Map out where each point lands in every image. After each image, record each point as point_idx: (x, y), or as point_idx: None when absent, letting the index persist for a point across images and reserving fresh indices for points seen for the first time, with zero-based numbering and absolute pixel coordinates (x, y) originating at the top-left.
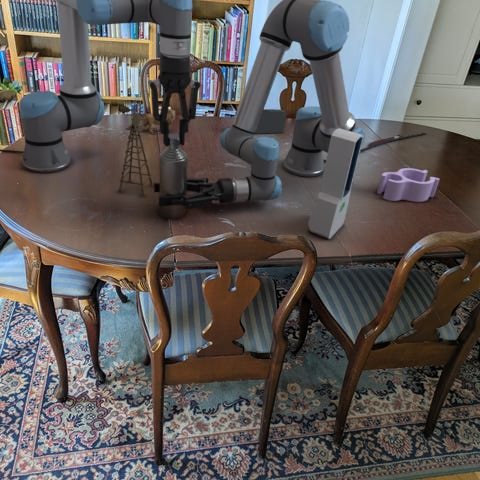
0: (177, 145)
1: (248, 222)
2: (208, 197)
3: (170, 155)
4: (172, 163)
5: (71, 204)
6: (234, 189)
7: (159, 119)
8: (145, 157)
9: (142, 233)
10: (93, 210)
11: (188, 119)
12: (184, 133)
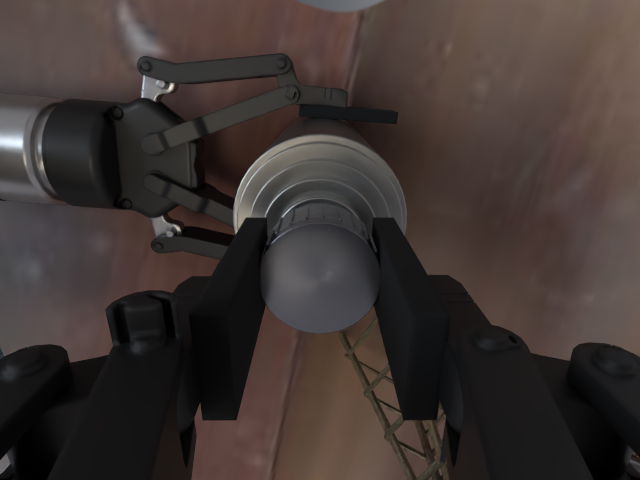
0: (304, 206)
1: (60, 18)
2: (184, 75)
3: (356, 181)
4: (350, 137)
5: (606, 271)
6: (50, 114)
7: (545, 371)
8: (374, 403)
9: (460, 36)
10: (558, 223)
11: (122, 342)
12: (226, 254)
